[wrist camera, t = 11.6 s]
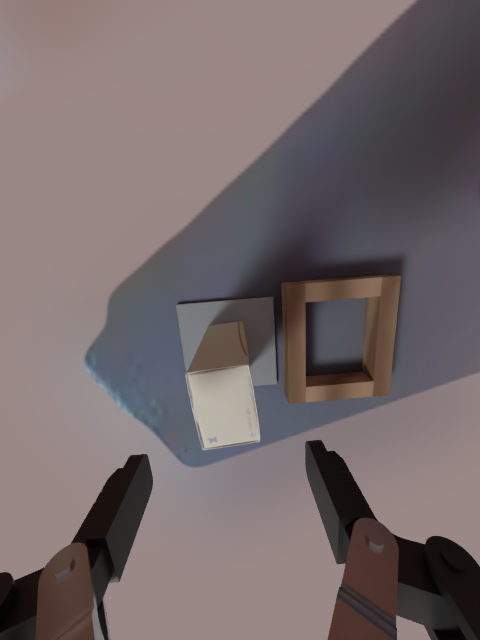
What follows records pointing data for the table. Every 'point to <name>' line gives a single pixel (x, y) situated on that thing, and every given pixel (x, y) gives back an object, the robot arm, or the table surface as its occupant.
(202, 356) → the skincare box
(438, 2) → the table surface
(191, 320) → the slate mat
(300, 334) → the frame
